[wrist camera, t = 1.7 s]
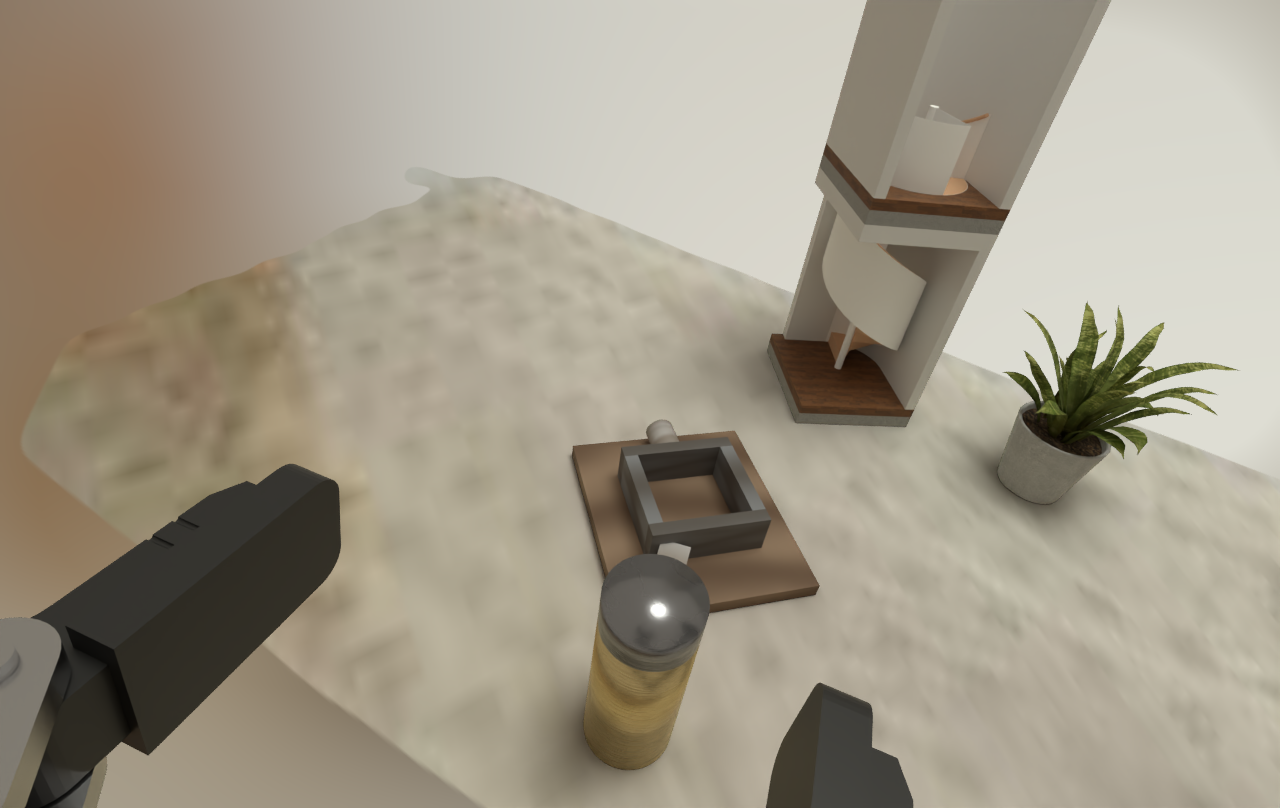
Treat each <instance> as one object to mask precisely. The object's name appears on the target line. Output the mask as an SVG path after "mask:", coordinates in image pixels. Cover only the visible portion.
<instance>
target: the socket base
mask: <svg viewBox="0 0 1280 808" xmlns="http://www.w3.org/2000/svg"><path fill="white" fill-rule="evenodd" d="M646 434H647V437H648V439H641V440H631V441H620V442H609V443H599V444H588V445H578V446H573V452H572V456H573V460H574V463H575V467H576V471H577V474H578V478H579V482H580V485H581V489H582V493H583V496H584V500H585V504H586V507H587V511H588V515H589V518H590V522H591V526H592V529H593V533H594V537H595V540H596V544H597V548H598V551H599V555H600V559H601V562H602V566H603V570H604V573H605V577H606V576H607V575H608V573H609V572H610V571H611V570H612V568H613V567H615V566H616V565H617V564H618V563H620V562H621V561H623V560H625V559H627V558H629V557H632V556H636V555H641V554H659V555H664V556H669V557H671V558H674V559H676V560H679V561H681V562H682V563H684V564H686V565H687V566H688V567H690V568H691V569H692V570H693V571H694V572H695V573H696V574H697V575H698V576H699V577H700V578H701V580H702V581H703V583H704V585H705V587H706V589H707V592H708V595H709V600H710V611H709V613H711V612H716V611H722V610H728V609H734V608H740V607H746V606H751V605H757V604H763V603H769V602H775V601H780V600H786V599H792V598H798V597H804V596H809V595H815V594H816V592H817V590H818V588H819V584H818V582H817V580H816V578H815V576H814V575H813V573H812V571H811V569H810V567H809V565H808V564H807V562H806V560H805V558H804V556H803V554H802V553H801V551H800V549H799V547H798V545H797V544H796V542H795V540H794V538H793V536H792V534H791V533H790V531H789V529H788V527H787V525H786V523H785V522H784V520H783V518H782V516H781V514H780V512H779V511H778V509H777V507H776V505H775V503H774V501H773V500H772V498H771V496H770V494H769V492H768V490H767V489H766V487H765V485H764V483H763V481H762V480H761V478H760V476H759V474H758V472H757V470H756V469H755V467H754V465H753V463H752V461H751V459H750V458H749V456H748V454H747V452H746V450H745V448H744V447H743V445H742V443H741V441H740V439H739V437H738V436H737V434H736V432H735V431H726V432H716V433H705V434H694V435H684V436H677V435H676V433H675V431H674V429H673V426H672V424H671V423H670V422H669V421H667V420H658V421H655V422H653V423H652V424H650V425H649V427H648V428H647V431H646Z"/></svg>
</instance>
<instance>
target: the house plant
mask: <svg viewBox="0 0 1280 808" xmlns="http://www.w3.org/2000/svg"><path fill="white" fill-rule="evenodd" d="M1025 312H1026V311H1025ZM1026 313H1027V314H1029V316H1030V317H1032V318H1033V319H1034V321H1035V322H1036V323H1037V325H1038V326H1039V327H1040V329H1041V330H1042V332H1043V334H1044V336H1045V338H1046V340H1047V343H1048V345H1049V348H1050V350H1051V353H1052V356H1053V360H1054V364H1055V370H1056V375H1057V381H1058V387H1059V391H1058V392H1057V394H1056V395H1055V397H1054V394H1053V391H1052V389H1051V386H1050V384H1049V382H1048V380H1047V379H1046V377H1045V375H1044V373H1043V372H1042V370H1041V368H1040V367H1039V365H1038V364H1037V362H1036V361H1035V360H1034V358H1033V357H1032V356H1030V355H1029V354H1028V353H1027V352H1026V351H1025V354H1026V357H1027V359H1028V360H1029V362H1030V366H1031V371H1032V374H1033V376H1034V378H1035V380H1036V382H1037V384H1038V386H1039V388H1040V391H1041V395H1042V398H1043V401H1040V398H1039V394H1038V392H1037V390H1036V388H1035V387H1034V385H1033V384H1032V382H1031V381H1030V380H1029V379H1028V378H1027V377H1026V376H1024V375H1022V374H1019V373H1016V372H1004V373H1007V374H1008V375H1009V376H1010V377H1011V378H1012V379H1013V380H1015V381H1016V382H1017V383H1018V384H1019V385H1020V386H1021V387H1022V388H1023V389H1024V390H1026V392H1027V393H1028V394H1029V395H1030V396H1031V397H1032V399H1033V400H1034V401H1032V402H1029V403H1026V404H1024V405H1023V406H1022V407H1020V410H1019V412H1018V415H1017V418H1016V420H1015V423H1014V426H1013V429H1012V431H1011V434H1010V437H1009V439H1008V442H1007V445H1006V448H1005V450H1004V453H1003V456H1002V459H1001V461H1000V464H999V467H998V469H997V473H998V477H999V479H1000V481H1001V482H1002V483H1003V485H1004V486H1005V487H1007V488H1008V489H1009V490H1010V491H1012V492H1013V493H1015V494H1016V495H1018V496H1019V497H1021V498H1023V499H1025V500H1027V501H1030V502H1033V503H1038V504H1051V503H1053V502H1056V501H1057V500H1058V499H1059V498H1060V497H1061V496H1062V495H1063V494H1064V493H1066V492H1067V491H1068V490H1069V489H1070V488H1071V487H1072V486H1073V485H1074V484H1076V483H1077V482H1078V481H1079V480H1080V479H1081V478H1082V477H1083V476H1084V475H1086V474H1087V473H1088V472H1089V471H1090V470H1091V469H1092V468H1093V467H1094V466H1096V465H1097V464H1098V463H1099V462H1100V461H1101V460H1102V459H1103V458H1104V457H1106V456H1107V455H1108V454H1109V453H1110V450H1111V446H1113V447H1115V448H1116V449H1117V450H1118V451H1119V452H1120V453H1121V454H1122V457H1123V459H1124V450H1125V444H1124V443H1123V441H1122V440H1121V439H1120V438H1119V437H1118V436H1116V435H1114V434H1113V433H1110V432H1107V431H1104V430H1106V429H1112V430H1115V431H1117V432H1119V433H1120V434H1122V435H1123V436H1125V437H1126V438H1128V439H1129V440H1130V441H1132V442H1133V443H1134V444H1135V446H1136V447H1137V449H1138V453H1139V452H1140V450H1141V449H1142V448H1143V447H1144V446H1145V445H1146V443H1147V437H1146V435H1145V434H1144V433H1143V432H1141V431H1139V430H1136V429H1133V428H1129V427H1124V426H1122V427H1114V426H1116V425H1118V424H1121V423H1124V422H1127V421H1130V420H1134V419H1138V418H1142V417H1146V416H1151V415H1158V414H1164V413H1180V414H1189V413H1186V412H1183V411H1180V410H1177V409H1172V408H1166V407H1165V408H1163V407H1157V408H1153V407H1152V406H1151V404H1150V403H1149V402H1152V401H1155V400H1158V399H1161V398H1164V397H1173V398H1179V399H1184V400H1187V401H1190V402H1192V403H1194V404H1196V405H1198V406H1200V407H1202V408H1203V409H1205V410H1208V411H1210V412H1212V413H1214V414H1216V413H1215V412H1214V411H1212V410H1211V409H1210V408H1209V407H1208V406H1206V405H1205V404H1204V403H1202V402H1201V401H1199V400H1197V399H1195V398H1193V397H1191V396H1188V395H1184V394H1185V393H1192V392H1201V393H1207V394H1214V393H1212V392H1210V391H1206V390H1204V389H1199V388H1193V387H1181V388H1174V389H1169V390H1164V391H1161V392H1158V393H1155V394H1152V395H1149V396H1147V397H1145V398H1140V397H1127V398H1124V397H1125V396H1127V395H1131V394H1133V393H1134V391H1136V390H1138V389H1140V388H1142V387H1145V386H1147V385H1149V384H1152V383H1154V382H1157V381H1160V380H1162V379H1165V378H1169V377H1172V376H1175V375H1180V374H1185V373H1190V372H1195V371H1200V370H1206V369H1220V370H1236V369H1233V368H1229V367H1225V366H1221V365H1217V364H1211V363H1200V362H1199V363H1185V364H1179V365H1174V366H1169V367H1165V368H1162V369H1159V370H1156V371H1154V369H1153V368H1152V367H1147V368H1148V369H1150V370H1152V371H1153V372H1151V373H1148V374H1146V375H1145V376H1143V377H1141V378H1140V379H1138V380H1136V381H1134V382H1130V383H1127V384H1125V383H1126V382H1127V381H1129V380H1130V379H1131V378H1133V377H1134V376H1135V375H1136V374H1137V373H1138V372H1139V371H1140V370H1142V369H1144V368H1146V367H1144V366H1138V365H1139V364H1140V363H1141V362H1142V361H1143V360H1144V359H1145V358H1146V357H1147V356H1148V355H1149V354H1150V352H1151V351H1152V350H1153V349H1154V348H1155V345H1156V342H1157V340H1158V337H1159V334H1160V333H1161V332H1162V330H1163V329H1164V323H1161V324H1160V325H1158V326H1156V327H1154V328H1153V329H1152V330H1150V331H1149V332H1148V333H1147V334H1146V335H1145V336H1144V337H1143V338H1142V339H1141V340H1140V341H1139V343H1138V344H1137V345H1136V346H1135V347H1134V348H1133V349H1132V350H1131V351H1130V352H1129V353H1128V354H1127V355H1125V357H1123V358H1122V360H1120V361H1119V362H1118V364H1117V365H1116V367H1115V368H1114V366H1115V364H1116V362H1117V359H1118V357H1119V354H1120V352H1121V349H1122V345H1123V341H1124V328H1123V320H1122V315H1121V313H1120V310H1119V308H1118V319H1117V324H1116V338H1115V340H1114V343H1113V345H1112V347H1111V349H1110V351H1109V354H1108V356H1107V358H1106V360H1105V361H1103V362H1101V363H1100V364H1099V365H1098V366H1097V367H1096V368H1095V369H1094V370H1093V369H1091V368H1092V365H1093V362H1094V359H1095V354H1096V350H1097V346H1098V340H1099V339H1100V338H1101V337H1102V336H1103V335H1104V334H1105V333H1106V332H1107V331H1105V332H1103V333H1101V334H1100V335H1098V331H1097V327H1096V324H1095V319H1094V313H1093V310H1092V309H1091V308H1090V306H1089V305H1088V304H1087V303H1086V306H1085V312H1084V317H1083V323H1082V327H1081V333H1080V337H1079V341H1078V345H1077V348H1076V349H1075V350H1074V351H1073V352H1072V353H1071V355H1070V356H1069V358H1066V359H1067V362H1066V364H1065V366H1064V362H1063V361H1062V359H1061V358H1060V364H1061V368H1062V371H1063V373H1062V377H1061V375H1060V366H1059V360H1058V355H1057V352H1056V349H1055V346H1054V344H1053V341H1052V339H1051V336H1050V335H1049V333H1048V331H1047V330H1046V329H1045V328H1044V326H1043V325H1042V324H1041V322H1040V321H1039V320H1038V319H1037V318H1036V317H1035V316H1034V315H1032V314H1030V313H1028V312H1026ZM1115 322H1116V321H1115ZM1137 366H1138V367H1137ZM1113 368H1114V370H1113ZM1112 370H1113V371H1112ZM1111 372H1112V373H1111ZM1123 384H1124V385H1123ZM1136 407H1144V408H1148V409H1143V410H1138V411H1134V412H1130V413H1128V414H1125V415H1123V416H1121V417H1119V418H1116V419H1113V418H1115V417H1117V416H1119V415H1121V414H1124V413H1126V412H1128V411H1130V410H1132V409H1134V408H1136ZM1112 412H1113V413H1112ZM1109 413H1111V414H1109ZM1107 414H1109V415H1107ZM1105 415H1107V416H1105ZM1103 416H1104V417H1103ZM1098 419H1099V420H1098ZM1110 419H1113V420H1110ZM1096 420H1097V421H1096ZM1108 420H1110V421H1108ZM1106 421H1108V422H1106ZM1104 422H1106V423H1104ZM1102 423H1103V424H1102ZM1100 424H1101V425H1100ZM1137 455H1138V454H1137Z"/></svg>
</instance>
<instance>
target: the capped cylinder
mask: <svg viewBox="0 0 1280 808" xmlns="http://www.w3.org/2000/svg"><path fill="white" fill-rule="evenodd" d="M709 611H710V600H709V595H708V592H707V589H706V587H705V585H704V583H703V581H702V580H701V578H700V577H699V576H698V575H697V574H696V573H695V572H694V571H693V570H692V569H691V568H690V567H688V566H687V565H686V564H684V563H682V562H681V561H679V560H676V559H674V558H671V557H669V556H664V555H659V554H641V555H636V556H632V557H629V558H627V559H625V560H623V561H621V562H620V563H618V564H617V565H616V566H615V567H613V568H612V570H611V571H610V572H609V573H608V575H607V576H606V578H605V580H604V582H603V586H602V591H601V598H600V605H599V612H598V620H597V627H596V634H595V641H594V648H593V656H592V663H591V670H590V677H589V684H588V692H587V699H586V706H585V713H584V721H583V727H584V734H585V737H586V740H587V743H588V745H589V747H590V748H591V750H592V751H593V752H594V754H595V755H596V756H597V757H598V758H599V759H600V760H602V761H603V762H604V763H606V764H608V765H610V766H612V767H615V768H618V769H624V770H635V769H640V768H643V767H646V766H648V765H650V764H652V763H653V762H655V761H656V760H657V759H658V758H659V757H660V756H661V755H662V754H663V752H664V751H665V749H666V747H667V745H668V743H669V740H670V737H671V734H672V730H673V727H674V724H675V721H676V718H677V715H678V711H679V708H680V705H681V702H682V699H683V695H684V692H685V689H686V686H687V683H688V679H689V676H690V673H691V670H692V667H693V664H694V660H695V657H696V654H697V651H698V648H699V644H700V641H701V638H702V635H703V632H704V629H705V625H706V622H707V619H708V616H709Z"/></svg>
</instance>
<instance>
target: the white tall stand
mask: <svg viewBox="0 0 1280 808" xmlns="http://www.w3.org/2000/svg"><path fill="white" fill-rule="evenodd" d="M1110 2H1111V0H867V2H866V6H865V9H864V13H863V17H862V20H861V23H860V27H859V30H858V34H857V37H856V41H855V44H854V48H853V51H852V55H851V58H850V62H849V66H848V69H847V72H846V76H845V79H844V83H843V86H842V90H841V93H840V97H839V101H838V104H837V107H836V111H835V114H834V118H833V121H832V125H831V128H830V132H829V136H828V139H827V143H826V146H825V150H824V153H823V156H822V160H821V164H820V167H819V170H818V174H817V178H816V181H815V183H816V184H817V186H818V187H819V189H820V190H821V191H822V193H823V194H824V198H823V201H822V205H821V208H820V211H819V215H818V218H817V222H816V225H815V228H814V232H813V235H812V238H811V242H810V245H809V248H808V252H807V255H806V259H805V262H804V265H803V268H802V272H801V275H800V279H799V282H798V285H797V289H796V292H795V295H794V299H793V302H792V305H791V309H790V312H789V316H788V319H787V322H786V326H785V329H784V332H783V334H772V335H771V339H770V342H769V346H768V349H767V351H768V354H769V356H770V359H771V361H772V364H773V366H774V369H775V371H776V374H777V377H778V379H779V382H780V384H781V387H782V389H783V392H784V394H785V397H786V399H787V402H788V404H789V407H790V409H791V412H792V414H793V417H794V419H795V422H796V423H811V424H840V425H869V426H897V427H906V426H907V424H908V421H909V419H910V417H911V415H912V413H913V411H914V409H915V407H916V405H917V403H918V401H919V399H920V397H921V394H922V392H923V390H924V388H925V386H926V384H927V382H928V380H929V378H930V376H931V374H932V372H933V370H934V367H935V365H936V363H937V361H938V359H939V357H940V355H941V353H942V351H943V349H944V347H945V344H946V343H947V340H948V338H949V336H950V334H951V332H952V330H953V328H954V326H955V324H956V322H957V320H958V318H959V316H960V313H961V311H962V309H963V307H964V305H965V303H966V301H967V299H968V297H969V294H970V293H971V291H972V289H973V286H974V284H975V282H976V280H977V278H978V276H979V274H980V272H981V270H982V268H983V266H984V263H985V262H986V259H987V257H988V255H989V253H990V251H991V249H992V247H993V245H994V243H995V241H996V239H997V237H998V235H999V232H1000V230H1001V228H1002V226H1003V224H1004V222H1005V220H1006V218H1007V216H1008V214H1009V212H1010V209H1011V208H1012V205H1013V203H1014V201H1015V199H1016V197H1017V195H1018V193H1019V191H1020V189H1021V187H1022V185H1023V183H1024V180H1025V178H1026V176H1027V174H1028V172H1029V170H1030V168H1031V165H1032V164H1033V162H1034V160H1035V158H1036V156H1037V153H1038V151H1039V149H1040V147H1041V145H1042V143H1043V141H1044V139H1045V137H1046V135H1047V133H1048V131H1049V128H1050V126H1051V124H1052V122H1053V120H1054V118H1055V116H1056V114H1057V112H1058V110H1059V108H1060V106H1061V104H1062V101H1063V99H1064V97H1065V95H1066V93H1067V91H1068V89H1069V87H1070V85H1071V83H1072V81H1073V79H1074V77H1075V75H1076V72H1077V70H1078V68H1079V66H1080V64H1081V62H1082V60H1083V58H1084V56H1085V54H1086V52H1087V50H1088V47H1089V45H1090V43H1091V41H1092V39H1093V37H1094V35H1095V33H1096V31H1097V29H1098V27H1099V25H1100V22H1101V20H1102V18H1103V16H1104V14H1105V12H1106V10H1107V8H1108V6H1109V4H1110Z"/></svg>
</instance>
